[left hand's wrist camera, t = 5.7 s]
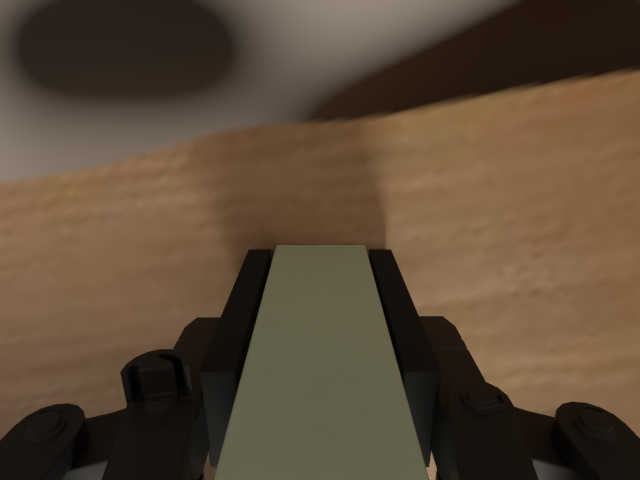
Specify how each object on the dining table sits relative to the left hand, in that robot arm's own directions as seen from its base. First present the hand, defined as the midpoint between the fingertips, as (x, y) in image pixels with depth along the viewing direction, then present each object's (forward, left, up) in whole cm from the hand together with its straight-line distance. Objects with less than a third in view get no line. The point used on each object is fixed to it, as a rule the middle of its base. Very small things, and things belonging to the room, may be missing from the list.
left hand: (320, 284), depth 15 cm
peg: (0, 0, 0) cm, 0 cm away
